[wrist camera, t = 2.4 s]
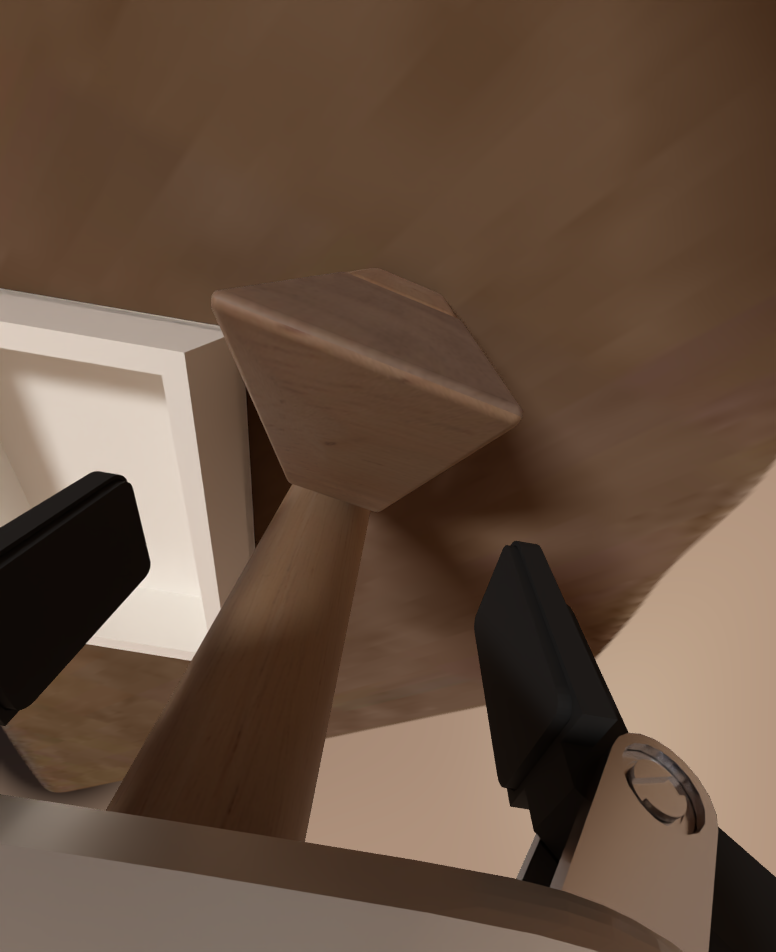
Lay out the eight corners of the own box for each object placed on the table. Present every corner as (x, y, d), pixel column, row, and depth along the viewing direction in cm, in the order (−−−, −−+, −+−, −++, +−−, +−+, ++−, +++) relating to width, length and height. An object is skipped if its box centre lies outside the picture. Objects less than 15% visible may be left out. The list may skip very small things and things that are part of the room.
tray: (-70, 276, 17) (-233, 281, 13) (242, 329, 17) (184, 352, 13) (64, 572, 28) (-2, 629, 23) (258, 603, 28) (228, 666, 23)
